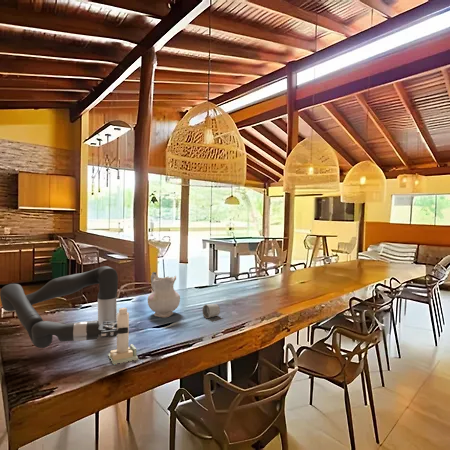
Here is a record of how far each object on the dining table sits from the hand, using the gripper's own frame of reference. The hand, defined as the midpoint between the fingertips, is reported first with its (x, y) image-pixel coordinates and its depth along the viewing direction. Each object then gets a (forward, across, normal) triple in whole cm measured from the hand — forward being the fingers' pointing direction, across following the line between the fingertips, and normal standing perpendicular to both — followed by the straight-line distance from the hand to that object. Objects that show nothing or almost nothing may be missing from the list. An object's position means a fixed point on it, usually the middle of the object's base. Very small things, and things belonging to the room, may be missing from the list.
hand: (127, 327), depth 149 cm
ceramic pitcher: (+20, -59, -13) cm, 64 cm away
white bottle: (-2, 0, -10) cm, 10 cm away
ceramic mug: (+47, -47, -13) cm, 68 cm away
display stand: (-2, 0, -13) cm, 13 cm away
